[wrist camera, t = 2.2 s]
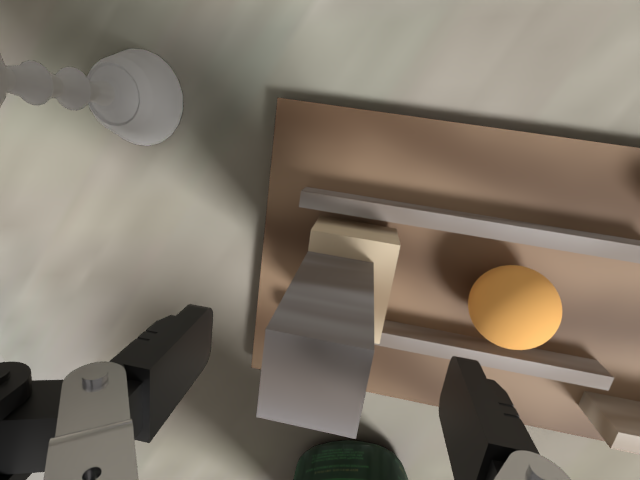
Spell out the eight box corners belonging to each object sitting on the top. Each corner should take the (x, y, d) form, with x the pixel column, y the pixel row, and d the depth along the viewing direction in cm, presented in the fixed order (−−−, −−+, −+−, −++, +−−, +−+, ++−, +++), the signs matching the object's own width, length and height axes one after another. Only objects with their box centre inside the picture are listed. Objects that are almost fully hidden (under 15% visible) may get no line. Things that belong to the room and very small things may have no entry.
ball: (470, 248, 19) (494, 276, 15) (550, 261, 19) (594, 293, 15) (451, 316, 20) (470, 357, 17) (526, 329, 20) (562, 376, 16)
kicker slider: (320, 215, 19) (269, 295, 10) (396, 228, 19) (420, 325, 9) (307, 301, 21) (253, 443, 11) (378, 314, 20) (383, 472, 11)
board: (282, 99, 19) (260, 90, 16) (876, 182, 17) (1023, 196, 13) (256, 358, 24) (234, 400, 20) (718, 453, 22) (791, 521, 18)
